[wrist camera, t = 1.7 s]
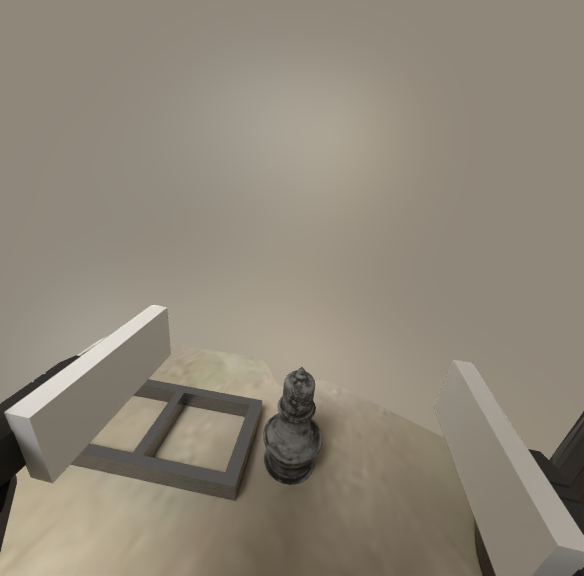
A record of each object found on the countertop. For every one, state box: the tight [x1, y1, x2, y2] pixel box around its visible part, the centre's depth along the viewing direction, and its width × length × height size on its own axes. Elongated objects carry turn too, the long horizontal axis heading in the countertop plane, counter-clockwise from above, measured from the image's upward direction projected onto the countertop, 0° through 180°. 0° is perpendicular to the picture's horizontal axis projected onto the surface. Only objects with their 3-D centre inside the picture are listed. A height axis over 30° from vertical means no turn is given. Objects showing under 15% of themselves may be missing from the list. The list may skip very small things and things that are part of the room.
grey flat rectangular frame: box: [71, 379, 262, 501], centre depth 31 cm, size 20×10×2 cm, turn 82°
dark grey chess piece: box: [263, 367, 322, 485], centre depth 28 cm, size 6×6×12 cm
